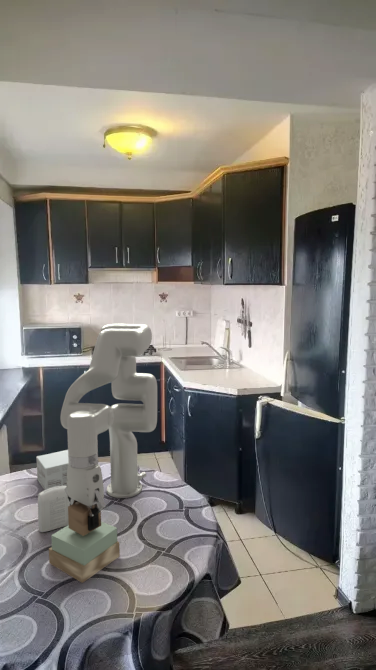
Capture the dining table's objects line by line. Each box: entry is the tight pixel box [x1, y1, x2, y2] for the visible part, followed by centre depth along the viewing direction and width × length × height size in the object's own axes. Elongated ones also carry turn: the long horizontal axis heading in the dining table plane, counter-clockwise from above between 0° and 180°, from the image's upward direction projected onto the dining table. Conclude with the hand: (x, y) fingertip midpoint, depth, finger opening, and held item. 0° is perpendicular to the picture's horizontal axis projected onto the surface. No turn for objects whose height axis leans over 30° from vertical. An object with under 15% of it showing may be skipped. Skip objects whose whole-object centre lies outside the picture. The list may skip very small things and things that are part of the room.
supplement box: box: [36, 449, 68, 491], centre depth 162 cm, size 17×13×9 cm
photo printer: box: [37, 486, 70, 533], centre depth 131 cm, size 10×4×12 cm, turn 123°
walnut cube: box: [68, 502, 102, 536], centre depth 114 cm, size 6×6×6 cm
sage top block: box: [50, 520, 118, 566], centre depth 115 cm, size 12×12×4 cm
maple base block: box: [48, 540, 121, 584], centre depth 116 cm, size 13×13×4 cm
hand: (85, 523), depth 115 cm, fingers closed on walnut cube, 5 cm apart
